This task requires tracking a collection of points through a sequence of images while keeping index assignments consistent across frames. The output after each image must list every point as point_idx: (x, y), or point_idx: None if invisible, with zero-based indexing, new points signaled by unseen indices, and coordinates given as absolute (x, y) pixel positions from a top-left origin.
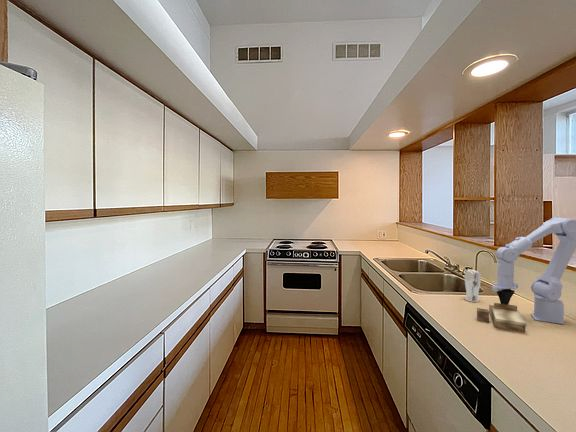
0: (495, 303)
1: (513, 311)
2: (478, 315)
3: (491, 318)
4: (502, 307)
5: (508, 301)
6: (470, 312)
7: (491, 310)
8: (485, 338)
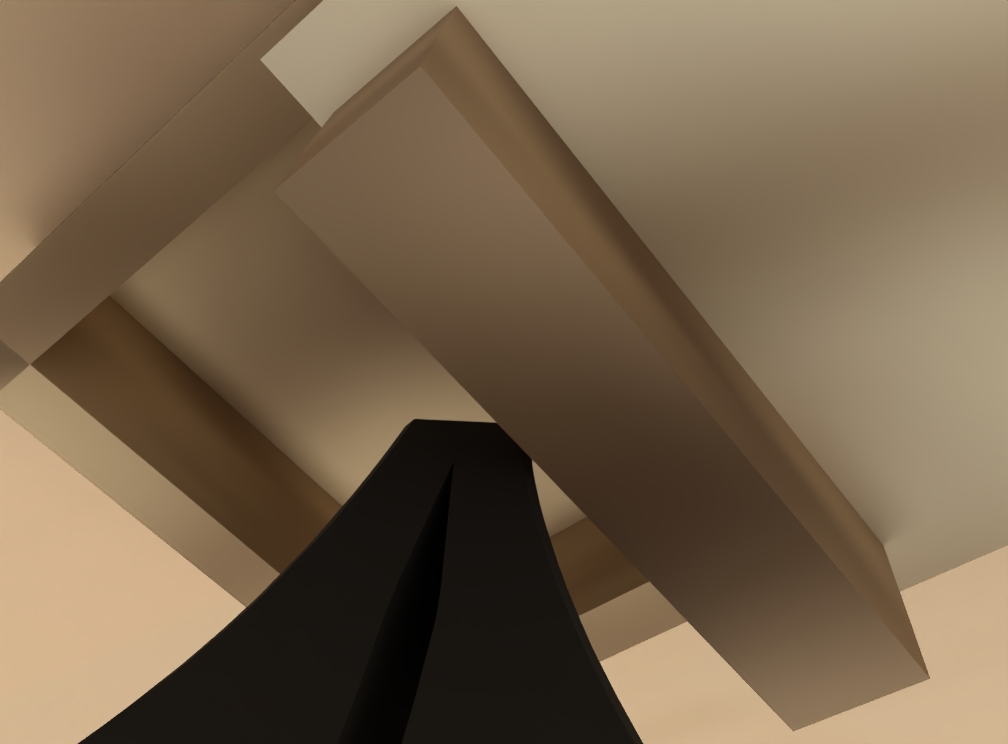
0: (850, 676)
1: (614, 69)
2: None
3: None
4: (768, 428)
5: (405, 538)
6: (893, 719)
7: None
8: None
